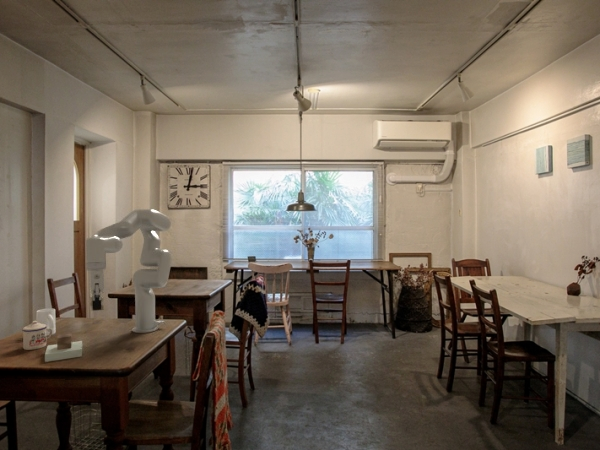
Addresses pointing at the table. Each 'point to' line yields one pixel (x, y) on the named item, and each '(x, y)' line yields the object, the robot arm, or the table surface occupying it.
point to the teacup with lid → (35, 336)
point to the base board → (63, 352)
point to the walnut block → (64, 341)
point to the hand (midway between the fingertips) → (96, 308)
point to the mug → (47, 319)
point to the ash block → (92, 304)
